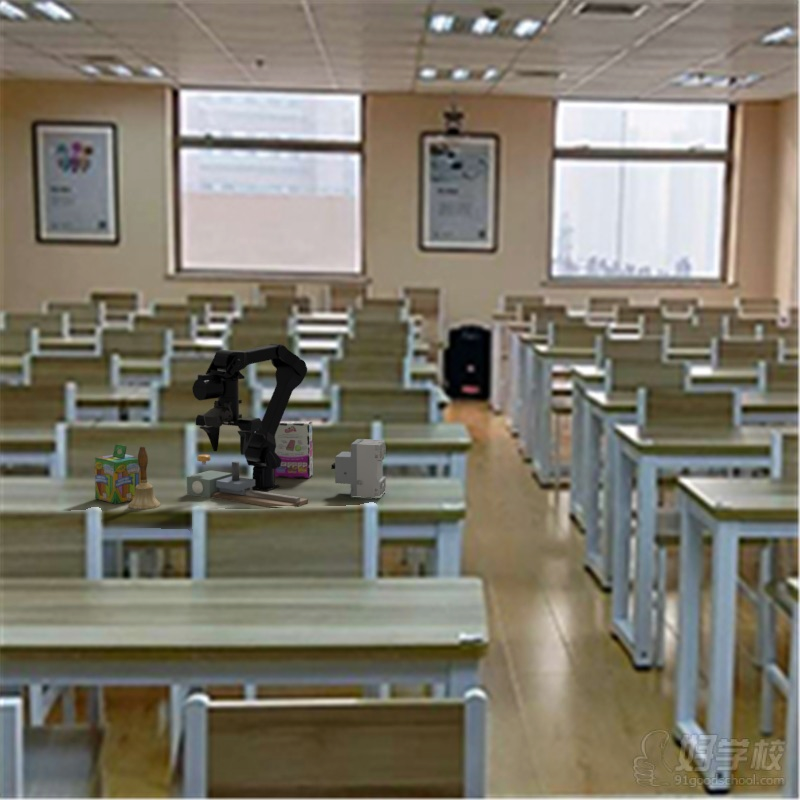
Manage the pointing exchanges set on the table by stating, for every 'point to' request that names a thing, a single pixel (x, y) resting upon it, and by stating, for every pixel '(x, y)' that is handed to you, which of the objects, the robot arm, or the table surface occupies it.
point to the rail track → (261, 498)
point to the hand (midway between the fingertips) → (228, 452)
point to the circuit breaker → (362, 468)
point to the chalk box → (116, 476)
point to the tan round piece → (203, 458)
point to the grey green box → (205, 483)
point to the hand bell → (143, 486)
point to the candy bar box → (294, 449)
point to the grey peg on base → (235, 482)
